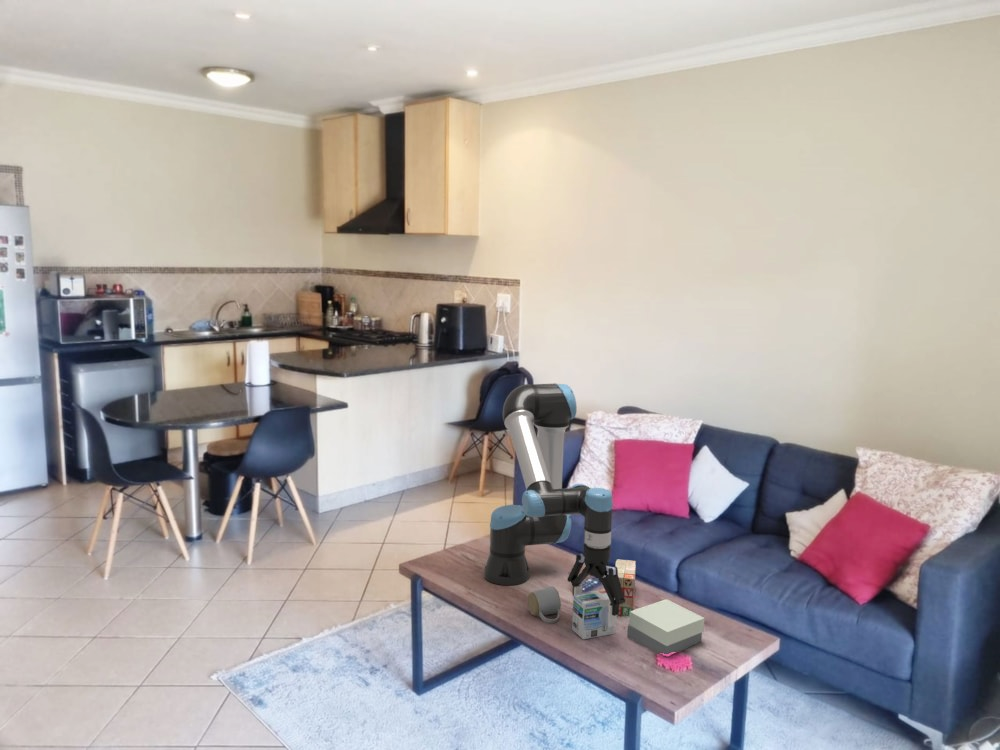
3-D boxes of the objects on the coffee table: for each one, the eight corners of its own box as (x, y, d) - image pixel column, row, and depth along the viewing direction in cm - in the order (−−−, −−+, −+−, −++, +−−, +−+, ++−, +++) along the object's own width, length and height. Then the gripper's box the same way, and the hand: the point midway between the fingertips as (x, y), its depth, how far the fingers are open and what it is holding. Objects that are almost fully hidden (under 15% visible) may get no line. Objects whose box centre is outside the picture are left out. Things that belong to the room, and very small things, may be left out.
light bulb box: (582, 640, 208) (584, 603, 206) (571, 629, 214) (572, 593, 212) (615, 633, 212) (617, 597, 211) (603, 623, 218) (604, 588, 217)
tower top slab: (628, 624, 210) (629, 611, 210) (665, 611, 219) (666, 599, 218) (666, 646, 199) (667, 632, 198) (703, 631, 208) (704, 618, 207)
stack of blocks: (615, 585, 244) (617, 549, 243) (634, 588, 243) (636, 551, 241) (611, 615, 224) (613, 576, 222) (632, 617, 222) (634, 578, 221)
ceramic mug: (525, 610, 225) (526, 586, 224) (549, 605, 228) (550, 582, 227) (541, 626, 216) (543, 601, 214) (566, 621, 219) (567, 597, 218)
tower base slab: (627, 639, 211) (627, 625, 210) (661, 624, 220) (662, 611, 219) (666, 660, 200) (667, 646, 199) (701, 643, 209) (702, 630, 208)
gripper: (556, 534, 217) (554, 604, 219) (621, 560, 197) (618, 636, 200) (575, 529, 221) (573, 597, 224) (640, 554, 202) (636, 629, 205)
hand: (594, 616), depth 212 cm, fingers open, 13 cm apart
